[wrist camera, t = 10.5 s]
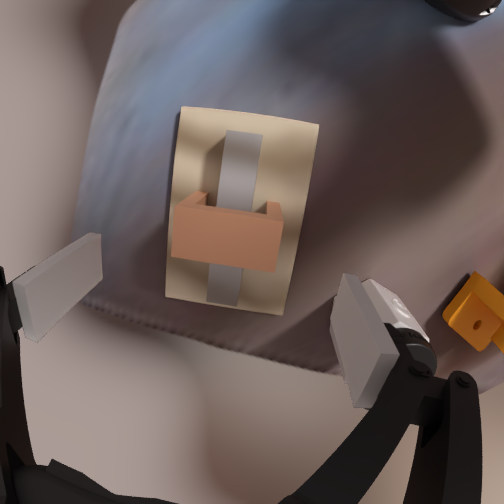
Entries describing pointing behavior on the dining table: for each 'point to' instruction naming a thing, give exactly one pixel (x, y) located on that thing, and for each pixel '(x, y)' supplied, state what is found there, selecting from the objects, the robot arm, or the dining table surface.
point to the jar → (395, 325)
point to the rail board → (270, 187)
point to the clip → (226, 234)
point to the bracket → (477, 313)
